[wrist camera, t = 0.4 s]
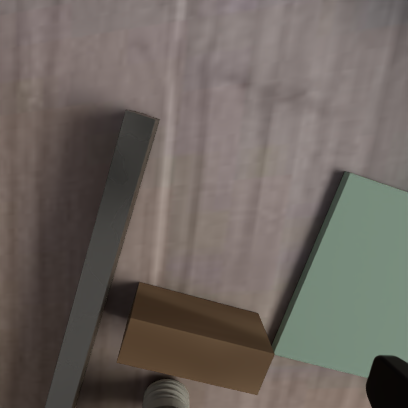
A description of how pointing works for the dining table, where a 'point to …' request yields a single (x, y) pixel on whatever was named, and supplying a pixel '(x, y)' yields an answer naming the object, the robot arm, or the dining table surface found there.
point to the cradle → (196, 340)
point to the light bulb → (166, 395)
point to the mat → (352, 283)
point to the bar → (102, 256)
